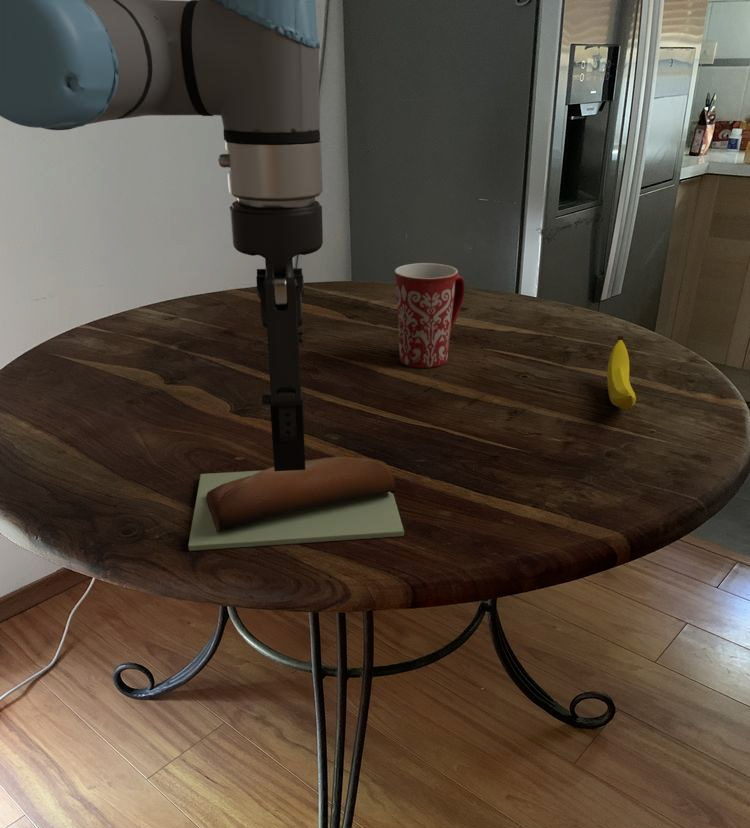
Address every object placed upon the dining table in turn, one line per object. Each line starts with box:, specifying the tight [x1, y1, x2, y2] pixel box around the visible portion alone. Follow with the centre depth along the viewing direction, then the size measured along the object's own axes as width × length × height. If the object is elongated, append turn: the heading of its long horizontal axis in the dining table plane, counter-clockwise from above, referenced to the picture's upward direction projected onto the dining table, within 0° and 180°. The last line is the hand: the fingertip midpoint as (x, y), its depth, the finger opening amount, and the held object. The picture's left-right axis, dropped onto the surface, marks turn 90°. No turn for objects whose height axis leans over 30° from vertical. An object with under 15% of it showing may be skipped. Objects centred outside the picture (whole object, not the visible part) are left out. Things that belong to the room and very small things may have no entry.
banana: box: [606, 335, 637, 410], centre depth 95 cm, size 3×19×6 cm, turn 168°
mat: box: [187, 470, 405, 552], centre depth 74 cm, size 20×14×1 cm
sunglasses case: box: [206, 456, 396, 532], centre depth 73 cm, size 18×7×7 cm
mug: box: [393, 262, 466, 369], centre depth 109 cm, size 13×9×14 cm
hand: (288, 436), depth 71 cm, fingers open, 13 cm apart
